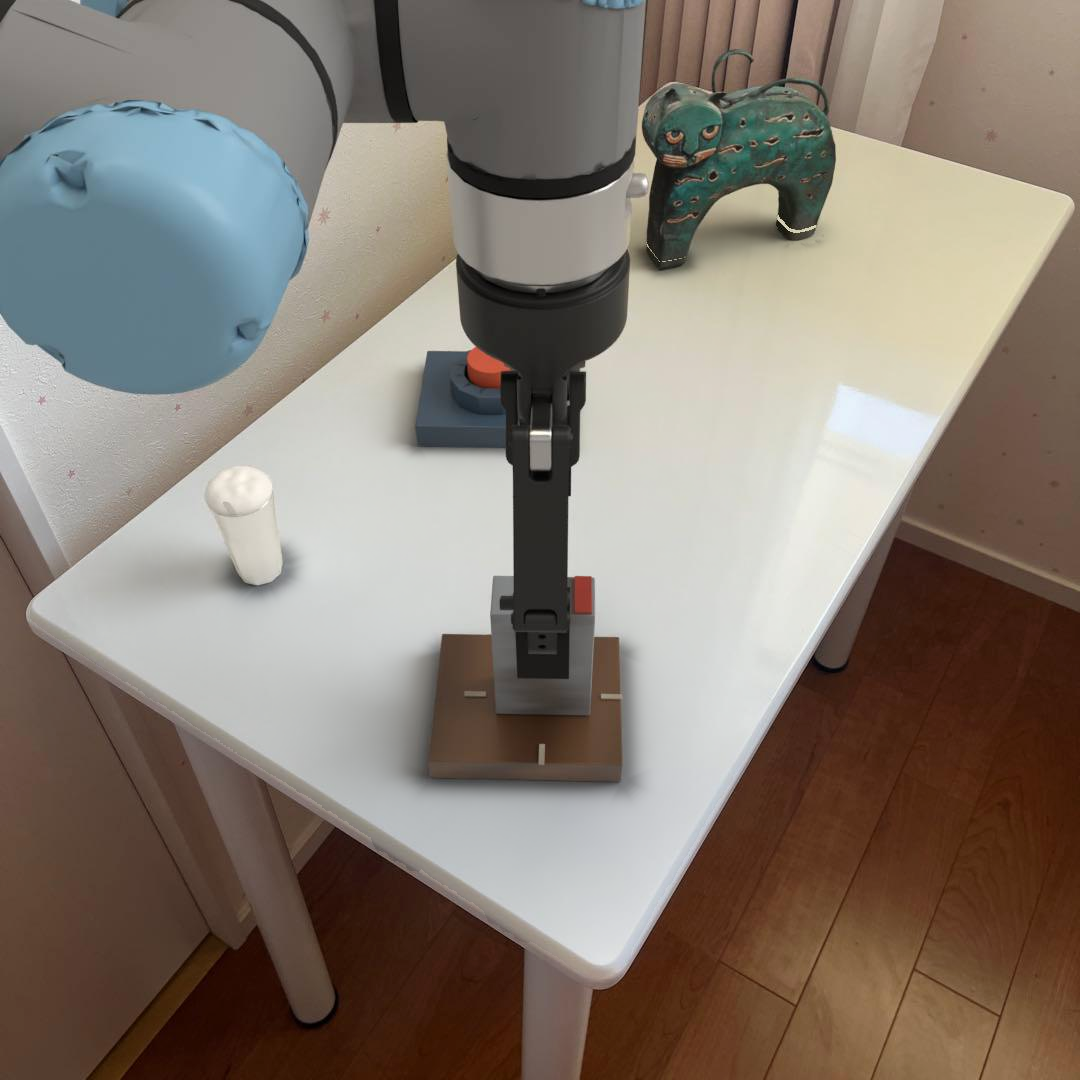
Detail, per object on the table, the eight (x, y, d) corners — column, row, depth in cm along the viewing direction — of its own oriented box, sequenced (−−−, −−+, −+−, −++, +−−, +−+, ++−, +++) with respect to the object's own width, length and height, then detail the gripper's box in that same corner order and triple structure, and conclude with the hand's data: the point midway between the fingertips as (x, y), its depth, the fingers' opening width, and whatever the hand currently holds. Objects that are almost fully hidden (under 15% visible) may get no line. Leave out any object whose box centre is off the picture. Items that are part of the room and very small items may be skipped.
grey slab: (495, 714, 70) (489, 611, 63) (498, 675, 72) (492, 572, 65) (590, 716, 70) (595, 613, 63) (589, 677, 72) (595, 574, 65)
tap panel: (429, 779, 69) (427, 761, 68) (444, 650, 76) (441, 630, 75) (622, 783, 69) (624, 765, 67) (619, 653, 76) (620, 634, 74)
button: (466, 389, 90) (465, 372, 89) (469, 359, 93) (468, 342, 91) (515, 390, 90) (514, 373, 89) (517, 359, 93) (517, 342, 91)
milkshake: (222, 602, 79) (190, 503, 72) (234, 547, 83) (204, 448, 76) (286, 600, 79) (260, 501, 72) (295, 545, 83) (271, 446, 76)
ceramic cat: (647, 280, 107) (663, 75, 92) (622, 245, 111) (633, 44, 97) (829, 243, 111) (871, 42, 97) (798, 211, 116) (834, 14, 101)
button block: (417, 446, 91) (413, 408, 88) (429, 370, 97) (425, 333, 95) (563, 448, 90) (564, 411, 87) (564, 372, 97) (565, 335, 94)
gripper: (641, 443, 38) (617, 768, 54) (623, 111, 56) (609, 430, 71) (426, 441, 39) (464, 765, 54) (474, 111, 56) (492, 429, 71)
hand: (546, 576), depth 63 cm, fingers open, 13 cm apart
